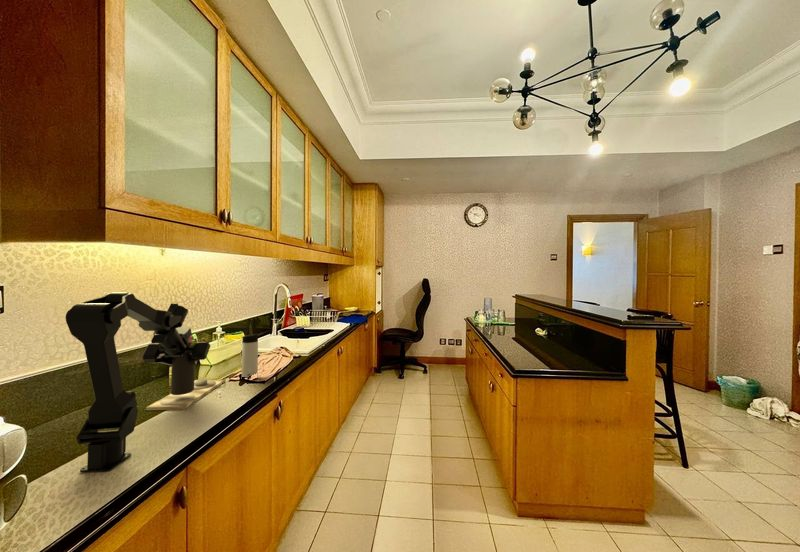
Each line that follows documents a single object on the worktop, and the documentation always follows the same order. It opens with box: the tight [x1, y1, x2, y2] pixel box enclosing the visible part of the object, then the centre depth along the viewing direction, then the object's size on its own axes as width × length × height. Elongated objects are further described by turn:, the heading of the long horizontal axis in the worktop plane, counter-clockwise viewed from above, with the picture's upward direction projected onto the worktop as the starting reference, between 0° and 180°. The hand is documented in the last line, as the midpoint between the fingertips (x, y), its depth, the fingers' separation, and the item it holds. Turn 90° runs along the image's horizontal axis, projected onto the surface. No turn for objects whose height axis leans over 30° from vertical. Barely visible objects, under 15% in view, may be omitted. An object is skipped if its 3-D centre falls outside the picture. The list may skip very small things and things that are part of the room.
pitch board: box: [145, 378, 226, 411], centre depth 114 cm, size 27×12×3 cm, turn 4°
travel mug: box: [241, 333, 259, 378], centre depth 132 cm, size 6×7×20 cm
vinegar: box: [170, 334, 196, 395], centre depth 107 cm, size 7×7×20 cm
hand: (185, 363), depth 108 cm, fingers closed on vinegar, 6 cm apart
